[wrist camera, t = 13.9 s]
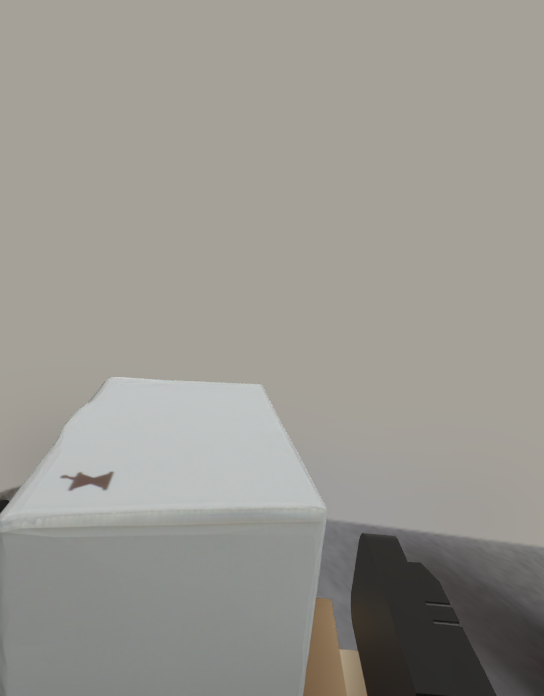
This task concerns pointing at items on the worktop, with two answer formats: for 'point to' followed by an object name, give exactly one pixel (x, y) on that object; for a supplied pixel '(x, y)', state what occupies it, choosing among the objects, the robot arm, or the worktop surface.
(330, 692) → the socket holder
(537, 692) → the worktop surface
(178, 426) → the skincare box
